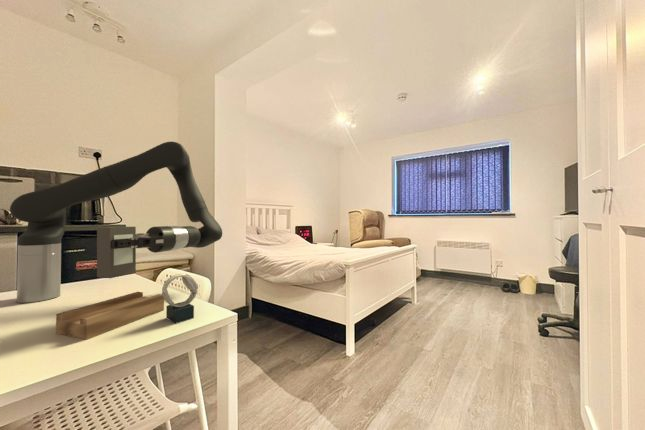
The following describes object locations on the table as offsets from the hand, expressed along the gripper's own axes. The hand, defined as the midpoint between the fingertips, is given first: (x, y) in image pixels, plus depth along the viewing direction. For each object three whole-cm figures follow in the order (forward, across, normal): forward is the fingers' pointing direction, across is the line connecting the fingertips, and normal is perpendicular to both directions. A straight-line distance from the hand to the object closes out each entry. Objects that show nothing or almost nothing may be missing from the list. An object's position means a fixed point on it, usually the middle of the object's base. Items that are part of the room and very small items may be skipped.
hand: (105, 244), depth 60 cm
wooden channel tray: (-3, 0, +19) cm, 19 cm away
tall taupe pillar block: (-3, 0, +8) cm, 8 cm away
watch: (-9, +14, +20) cm, 25 cm away
